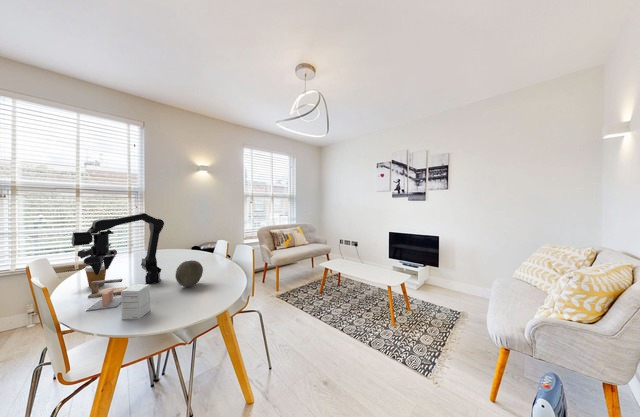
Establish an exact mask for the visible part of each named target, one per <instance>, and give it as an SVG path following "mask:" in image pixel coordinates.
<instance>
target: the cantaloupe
mask: <svg viewBox="0 0 640 417" xmlns="http://www.w3.org/2000/svg"><path fill="white" fill-rule="evenodd" d="M203 268H204V267H203V265H202V264H201V263H200V262H199V261H198V260H192V259H191V260H185V261H183V262H181V263H180V264H179V265H178V266H177V268H176V271H175V279H176V282H177V284H179V285H180V286H181V287H185V288H191V287H194V286H195V285H197V284H198V283H199V282H200V280H201V279H202V276H203V273H204V272H203V271H204V269H203Z"/></svg>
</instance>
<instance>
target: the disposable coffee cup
mask: <svg viewBox="0 0 640 417" xmlns="http://www.w3.org/2000/svg"><path fill="white" fill-rule="evenodd" d="M83 271H85V274H86V278H87V284H88V287H89V288H90V289H91V282H93V281H103V280H106V273H107V270H105V267H104V263H103V265H102V267H101V270H100V273H99V275H95V273H94V271H93V269H92V267H91V266H90V265H86V266H85V267H84V270H83ZM104 285H105V284H98V288H99V287H102V286H104Z"/></svg>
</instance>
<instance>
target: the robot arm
mask: <svg viewBox="0 0 640 417" xmlns="http://www.w3.org/2000/svg"><path fill="white" fill-rule="evenodd" d="M138 221H143V222H145V223H146V224H148V226H149V227H148V228H149V234H150V235H149V238H148V240H149V241H148V245H147V252H146V256H144V257H145V258H141V264H140V266H141V268H142V270H144V271H145V272H146V274H145V277H144V278H145V279H144V280H145V284H148V285H150V284H151V285H152V284H158V283H159V282H161V280H162V278H161V271H162V268H161V267H159V266H158V261H157V252H158V243H159V239H160V238H159V237H160V233H161V232H162V230H163V228H164V225H165V222H164V220H163V219H161V218H157V217H156V218H155V217H154V216H151V215H149V214H147V213H144V212H139V213H136V214H131V215H127V216H119V217H115V218H99V219H94V221H93V222H92V225H91V226H90V227H89V228H88V230H86V231H80V232H79V231H73V232H72V238H71V245H72V247H76V246H77V247H79V246H88V245H90V244H91V243H93V245H91V246H90V249H87V250H86V249H82V250H79V251H78V252H77V255H76V256H77V257H79V258H80V259H83V264H84V265H86V266H89V265H90V266H91V267H92V269H93V271H94V273H95V275H99V273H100V270H101V267H102V265H103V264H104V267H105V270H106V271H107V270H109V268H110V266H111V264H112V263H113V261H114V259H115V257H116V255H117V254H118V250H116V249H110V247H111V246H112V245H111V243H109V242H110V240H109V239H110V238H109V235H113V234H115V233H114V232H113V231H111V229H113V228H115V227H117V226H120V225H125V224H129V223H134V222H138ZM145 284H144V285H145Z"/></svg>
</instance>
